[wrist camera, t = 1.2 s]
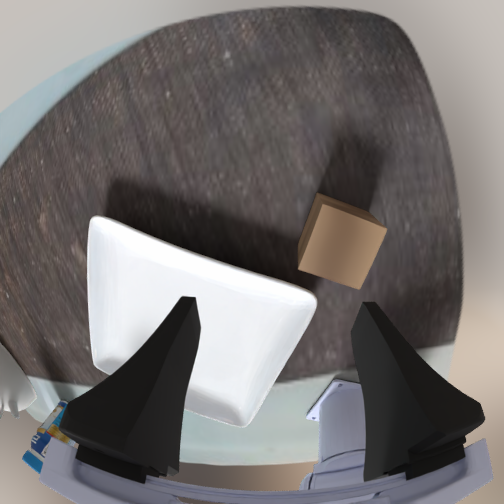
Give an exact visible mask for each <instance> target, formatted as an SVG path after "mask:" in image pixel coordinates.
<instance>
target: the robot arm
mask: <svg viewBox="0 0 504 504" xmlns="http://www.w3.org/2000/svg"><path fill="white" fill-rule="evenodd" d="M200 333H201V324H200V318H199V313H198V307H197V301H196V297H189V296H182V297H180V299H179V300H178V301H177V303H176V304H175V306H174V307H173V308H172V310H171V311H170V312H169V314H168V315H167V316H166V318H165V319H164V320H163V322H162V323H161V324H160V325H159V327H158V328H157V329H156V330H155V332H154V333H153V334H152V335H151V336H150V337H149V338H148V340H147V341H146V342H145V343H144V344H143V345H142V346H141V347H140V348H139V350H138V351H137V352H136V353H135V354H134V355H133V356H132V357H131V358H130V359H128V360H127V361H126V362H125V363H124V364H123V365H122V366H121V367H120V368H118V369H117V370H116V371H115V372H114V373H113V374H111V375H110V376H109V377H108V378H106V379H105V380H103V381H102V382H101V383H99V384H98V385H96V386H95V387H94V388H92V389H91V390H89V391H88V392H86V393H84V394H82V395H81V396H79V397H77V398H76V399H74V400H72V401H70V402H68V404H67V406H66V408H65V410H64V413H63V416H62V419H61V421H60V424H59V427H58V429H59V431H60V432H61V433H63V434H64V435H66V436H67V437H69V438H70V439H72V440H73V441H75V442H76V443H78V444H79V446H78V449H76V448H74V447H73V446H70V445H68V444H66V443H64V442H62V441H60V440H58V439H56V438H54V437H51V439H50V442H49V446H48V449H47V452H46V455H45V459H44V462H43V466H42V469H41V473H40V477H39V481H40V482H41V483H43V484H44V485H46V486H47V487H49V488H51V489H52V490H54V491H56V492H57V493H59V494H61V495H62V496H64V497H66V498H68V499H69V500H71V501H73V502H75V503H76V504H189V503H183V502H181V501H179V499H178V497H176V496H179V497H184V498H190V499H196V500H203V501H210V502H218V503H229V504H455V503H457V502H458V501H460V500H462V499H463V498H465V497H466V496H468V495H469V494H471V493H473V492H474V491H476V490H477V489H479V488H480V487H482V486H484V485H485V484H487V483H488V482H490V481H491V480H492V479H493V474H492V467H491V462H490V457H489V452H488V448H487V444H486V439H485V438H484V439H481V440H480V441H478V442H476V443H474V444H471V445H469V446H468V447H466V448H464V446H463V444H464V443H465V442H466V438H465V435H467V434H468V433H470V432H472V431H473V430H474V429H476V428H477V427H479V426H480V425H481V424H482V423H483V422H484V420H485V416H484V413H483V410H482V407H481V404H480V403H479V402H477V401H476V400H474V399H472V398H471V397H469V396H467V395H466V394H464V393H462V392H461V391H460V390H458V389H457V388H455V387H454V386H453V385H451V384H450V383H449V382H447V381H446V380H445V379H444V378H443V377H441V376H440V375H439V374H438V373H437V372H436V371H435V370H433V369H432V368H431V367H430V366H429V365H428V364H427V363H426V362H425V361H424V360H423V359H422V358H421V357H420V356H419V355H418V354H417V352H416V351H415V350H414V349H413V348H412V347H411V346H410V345H409V343H408V342H407V341H406V340H405V339H404V337H403V336H402V335H401V334H400V333H399V331H398V330H397V329H396V328H395V326H394V325H393V324H392V323H391V321H390V320H389V319H388V317H387V316H386V315H385V314H384V312H383V311H382V310H381V309H380V307H379V306H378V305H377V304H376V302H363V303H362V305H361V308H360V310H359V313H358V316H357V318H356V321H355V323H354V325H353V328H352V330H351V338H352V347H353V353H354V358H355V362H356V366H357V371H358V375H359V379H360V384H358V383H353V382H348V381H343V380H338V379H336V380H333V381H332V383H331V384H330V385H329V387H328V388H327V389H326V391H325V392H324V393H323V395H322V396H321V397H320V399H319V400H318V401H317V402H316V404H315V405H314V406H313V407H312V409H311V410H310V411H309V412H308V414H307V415H306V418H307V419H309V420H315V421H319V462H318V464H314V471H313V473H308V474H307V475H306V476H305V478H304V479H303V480H302V482H301V484H300V488H299V490H297V491H246V490H230V489H219V488H212V487H204V486H197V485H191V484H185V483H180V482H175V481H170V480H165V479H161V478H159V476H163V477H166V476H167V475H169V476H174V475H175V474H177V473H178V472H179V456H180V441H181V430H182V420H183V412H184V405H185V398H186V393H187V389H188V385H189V381H190V378H191V374H192V370H193V366H194V363H195V359H196V355H197V351H198V347H199V341H200Z"/></svg>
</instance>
